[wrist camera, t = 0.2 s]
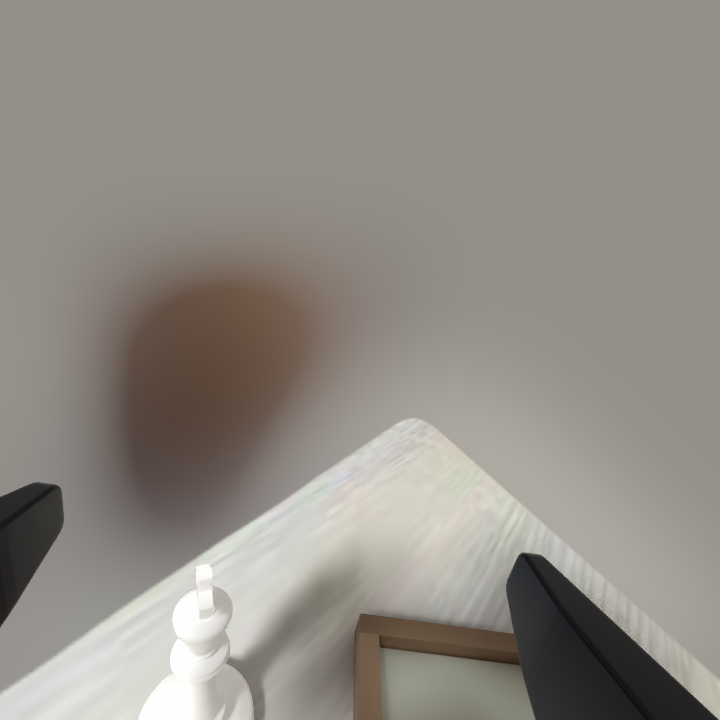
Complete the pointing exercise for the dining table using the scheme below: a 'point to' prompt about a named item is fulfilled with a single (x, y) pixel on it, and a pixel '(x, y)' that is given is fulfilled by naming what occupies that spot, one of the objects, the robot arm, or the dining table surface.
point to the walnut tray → (436, 672)
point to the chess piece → (201, 662)
